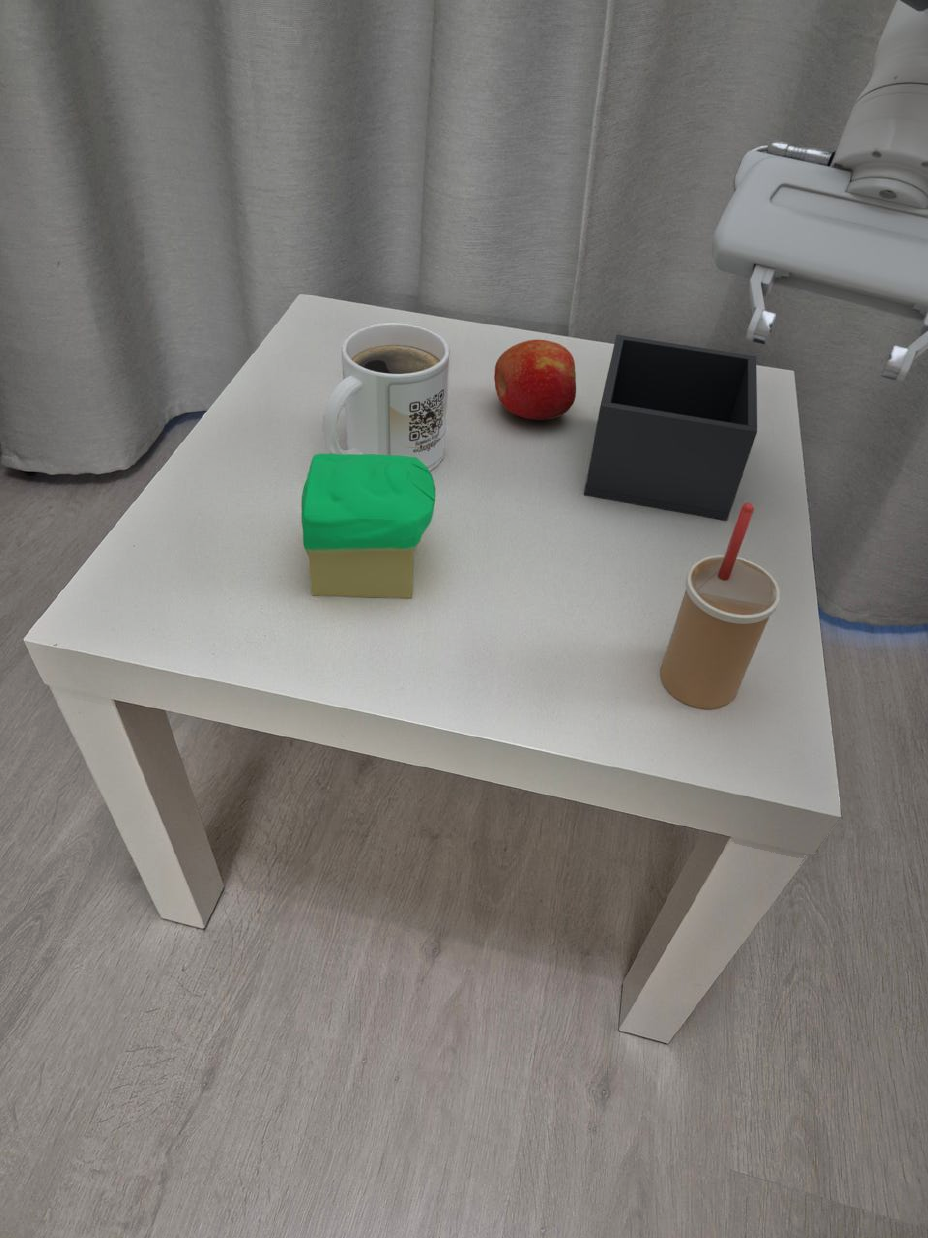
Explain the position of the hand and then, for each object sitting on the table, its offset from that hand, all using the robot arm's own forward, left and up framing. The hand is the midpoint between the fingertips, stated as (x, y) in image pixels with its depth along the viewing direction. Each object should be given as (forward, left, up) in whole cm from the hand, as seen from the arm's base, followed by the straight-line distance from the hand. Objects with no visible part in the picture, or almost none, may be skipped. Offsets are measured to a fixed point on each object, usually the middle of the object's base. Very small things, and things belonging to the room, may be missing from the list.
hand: (822, 358), depth 61 cm
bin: (+17, -5, -21) cm, 28 cm away
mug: (+32, +18, -22) cm, 42 cm away
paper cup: (-6, +11, -21) cm, 25 cm away
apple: (+31, +1, -22) cm, 37 cm away
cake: (+18, +27, -22) cm, 39 cm away
